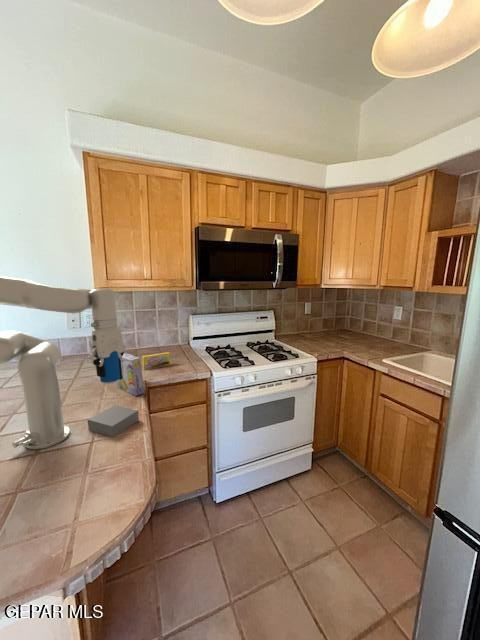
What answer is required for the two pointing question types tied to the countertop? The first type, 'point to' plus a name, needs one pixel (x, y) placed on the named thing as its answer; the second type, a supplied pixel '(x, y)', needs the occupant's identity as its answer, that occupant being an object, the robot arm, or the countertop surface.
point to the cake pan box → (131, 375)
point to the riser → (113, 420)
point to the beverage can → (111, 369)
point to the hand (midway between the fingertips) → (109, 372)
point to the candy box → (156, 360)
